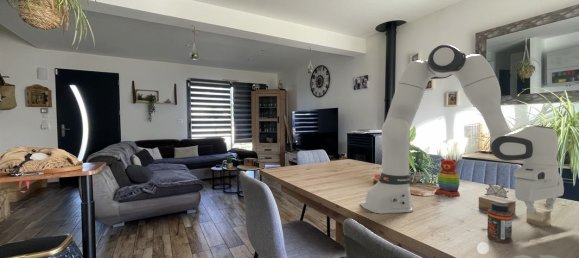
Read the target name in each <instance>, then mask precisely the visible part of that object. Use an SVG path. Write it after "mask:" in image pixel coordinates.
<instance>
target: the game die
mask: <svg viewBox="0 0 579 258" xmlns="http://www.w3.org/2000/svg"><path fill="white" fill-rule="evenodd" d="M488 186H489V187H488V188H487V187H486V188H485V190H486V192H485V193H484V196H488V195H493V196H497V197H501V198H504V199H509V197H508V194H507V193H509V191H508V190H506V189H505V185H502V186H500V185H498V183H496V184H494V185H493V184H492V185H491V184H490V183H489V184H488Z"/></svg>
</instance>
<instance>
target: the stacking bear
mask: <svg viewBox="0 0 579 258" xmlns="http://www.w3.org/2000/svg"><path fill="white" fill-rule="evenodd" d="M440 168H441V169H440V170H439V173H438V176H437V177H438V178H437V183H438V188H437V189H435V190H436V192H435V193H434V194H435V195H437V196H439V195H440V196H447V197H450V198H457V197H458V198H459V197H460V195H461V193H460V192H459V187H460V178H459V175H458V172H457V171H456V168H457V160H456V159H454V158H453V159H449V158H448V159H447V158H446V159H445V158H441V159H440Z"/></svg>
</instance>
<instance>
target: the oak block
mask: <svg viewBox="0 0 579 258" xmlns="http://www.w3.org/2000/svg"><path fill="white" fill-rule="evenodd" d="M534 208H536V213H533V214H532V213H528V212H527V211H526V223H529V224H532V225H535V226H539V227H548V226H551V223H552V221H551V220H552V210H548V209H545V208H544V209H543V208H539V207H536V206H534Z"/></svg>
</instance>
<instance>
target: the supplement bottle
mask: <svg viewBox="0 0 579 258" xmlns="http://www.w3.org/2000/svg"><path fill="white" fill-rule="evenodd" d="M512 228H513V217H512V214H511V213H510V212H509V211H508V205H507V204H505V203H500V202H492V208H491V209H489V210H488V214H487V228H486V229H487V231H486V233H487V238H488V239H490V240H491V241H494V242H497V243H502V244H509V243H511V242H512V239H513V238H512V237H513V235H512V234H513V229H512Z"/></svg>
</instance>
